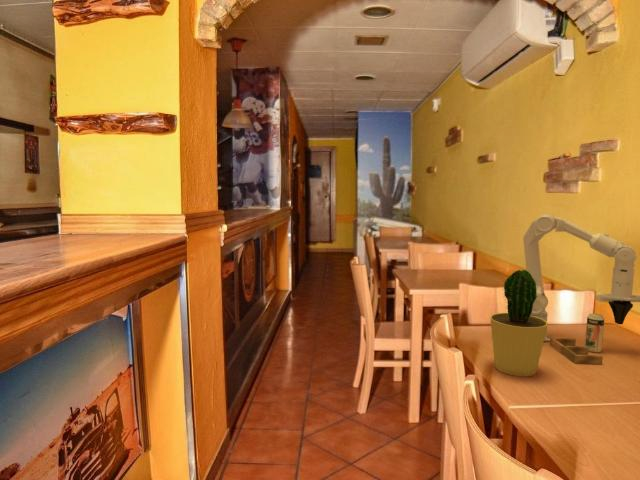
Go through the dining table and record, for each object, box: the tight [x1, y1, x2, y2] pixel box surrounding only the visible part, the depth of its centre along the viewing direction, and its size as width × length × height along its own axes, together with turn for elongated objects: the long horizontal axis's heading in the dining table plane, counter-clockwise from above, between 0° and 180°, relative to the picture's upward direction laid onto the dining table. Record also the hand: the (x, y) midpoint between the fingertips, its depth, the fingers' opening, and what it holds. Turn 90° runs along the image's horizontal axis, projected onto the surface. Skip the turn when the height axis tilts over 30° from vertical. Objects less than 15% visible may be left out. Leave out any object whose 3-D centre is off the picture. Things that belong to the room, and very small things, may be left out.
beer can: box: [584, 313, 605, 353], centre depth 152 cm, size 5×5×12 cm
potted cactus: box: [489, 268, 549, 377], centre depth 134 cm, size 15×15×30 cm
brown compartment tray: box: [549, 337, 604, 365], centre depth 149 cm, size 8×17×2 cm, turn 178°
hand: (618, 323), depth 151 cm, fingers closed
